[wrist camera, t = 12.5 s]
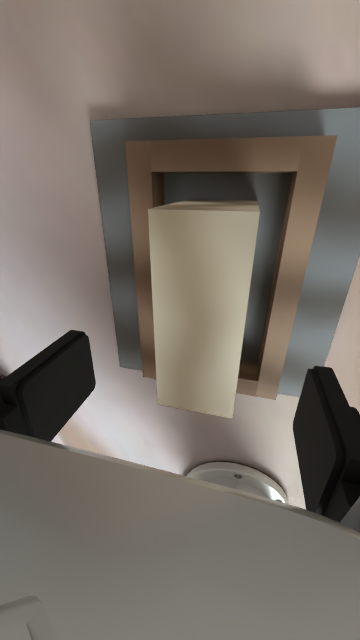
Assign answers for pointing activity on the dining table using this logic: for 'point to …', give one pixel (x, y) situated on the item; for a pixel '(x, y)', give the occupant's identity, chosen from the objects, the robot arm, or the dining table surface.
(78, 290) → the dining table surface
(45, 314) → the dining table surface
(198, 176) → the slot board
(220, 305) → the ash block
